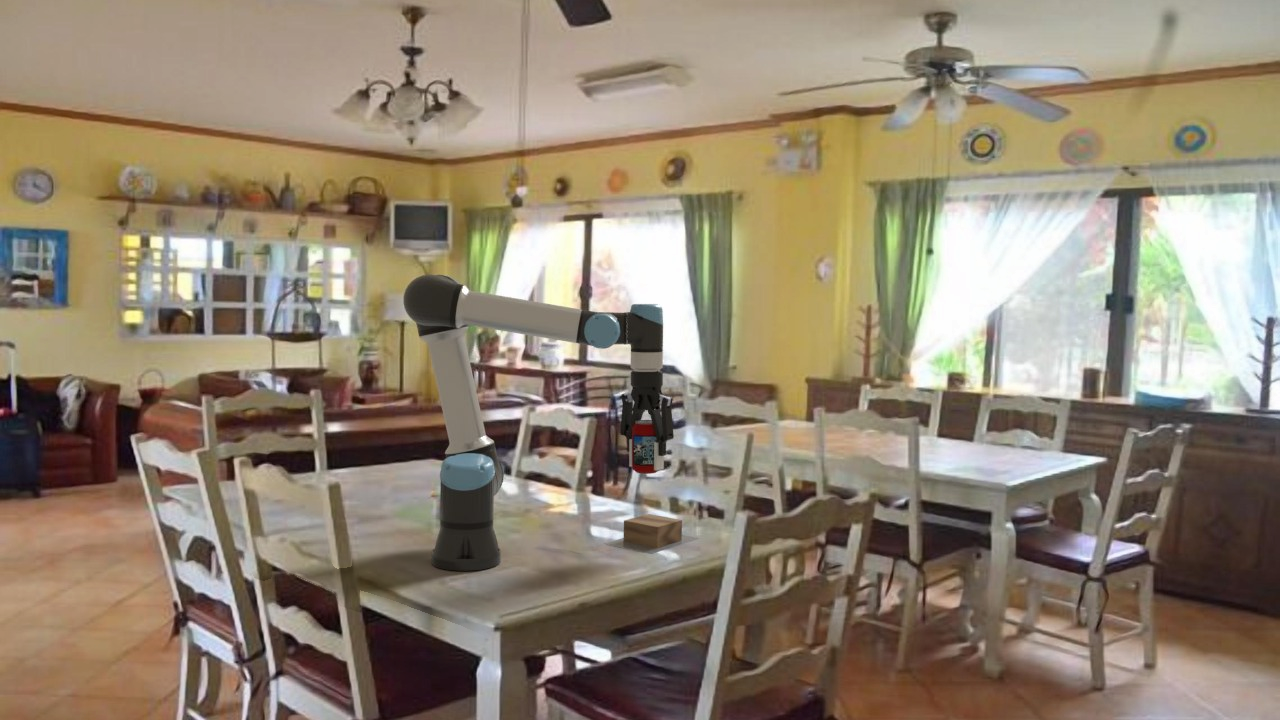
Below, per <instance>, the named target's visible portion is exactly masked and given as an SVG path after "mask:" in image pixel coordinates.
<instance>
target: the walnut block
mask: <svg viewBox="0 0 1280 720" xmlns="http://www.w3.org/2000/svg"><path fill="white" fill-rule="evenodd" d="M682 530H683V520H682V519H679V518H671V517H667V516H663V515H662V516H660V515H656V514H650V513H648V514H647V513H646V514H644V515H639V516H636V517H632V518H629V519H625V520H623V538H624V541H625V542H630V543H634V544H639V545H644V546H649V547H654V548H660V547H663V546H666V545H669V544H672V543H675V542H679V541H682V535H683V533H682V532H683V531H682Z"/></svg>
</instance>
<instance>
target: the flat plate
mask: <svg viewBox="0 0 1280 720" xmlns="http://www.w3.org/2000/svg"><path fill="white" fill-rule="evenodd" d="M699 539H701V538H700V537H697V536H696V537H695V536H690V535H685V534H682V541H679V542H675V543H672V544H669V545H666V546H663V547H660V548H654V547H649V546H644V545H639V544H634V543H630V542H625V541H624V537H621V538H619V539H615V540H612V541H609V542H605V543H604V544H603V545H606V546H613V547H617V548H622V549H627V550H631V551H636V552H639V553H640V552H641V553H645V554H650V555H653V554H655V553H660V552H662V551H665V550H669V549H671V548H674V547H678V546H681V545H684V544H687V543H689V542H693V541H697V540H699Z"/></svg>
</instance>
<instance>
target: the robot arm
mask: <svg viewBox="0 0 1280 720" xmlns="http://www.w3.org/2000/svg"><path fill="white" fill-rule="evenodd" d="M402 298H403V301H402V303H403V306H404V310H405V312H406V314H407V315H408V317H409V318H410V319H411V320H412V321H413V322H415V323H416V324H415V325H416V329H417V333H418V337H419V339H420V340H422V341H423V342H425V343H426V345H427V347H428V352H429V356H430V360H431V366H432V370H433V374H434V377H435V383H436V388H437V391H438V392H437V393H438V397H439V400H440V405H441V409H442V414H443V420H444V423H445V429H446V433H447V437H448V443H449V444H448V447H447V448H446V450H445V452H444V454H445V459H444V460H443V461H442V462H441V465H440V471H439V479H440V495H439V496H440V499H439V500H440V501H439V502H440V506H439V507H440V509H439V510H440V514H439V530H438V531H439V532H438V534H437V538H436V541H435V545H434V548H433V549H432V552H431V564H432V566H434V567H435V568H438V569H442V570H447V571H454V572H455V571H457V572H458V571H459V572H463V571H464V572H467V571H468V572H470V571H479V570H480V571H481V570H486V569H491V568H494V567H496V566H498V565H500V564H501V557H502V556H501V554H502V552H501V549H500V547H499V544H498V540H497V536H496V533H495V528H494V503H495V502H494V500H495V499H494V498H495V496H497V494H498V492H500V490H501V488H502V486H503V483H504V476H505V475H504V474H505V472H504V471H505V470H504V466H503V464H502V461H501V459H500V458H499V457H498V454H497V448H496V443H495V440H493V439H491V437H489V436H488V435H486V429H485V425H484V419H483V416H482V411H481V407H480V401H479V399H478V393H477V388H476V384H475V380H474V376H473V370H472V365H471V362H470V357H469V356H470V355H469V351H468V348H467V343H466V339H465V335H466V334H467V331H468V330H469V328H470V326H472V327H477V328H478V327H479V328H484V329H489V330H495V331H501V332H508V333H514V334H519V335H526V336H531V337H532V336H533V337H539V338H543V339H550V340H556V341H562V342H568V343H574V344H579V345H584V346H585V345H586V346H589V347H590V346H591V347H594V348H596V349H604V350H605V349H609V348H611V347H612V346H614V345H630V369H631V370H632V371H630V386H631V387H632V388H631V391H630V393H629V392H628V393H623V394H621V396H620V398H621V403H622V407H621V419H620V431H619V433H620V436H624V437H626V439H627V440H626V441H627V442H626V443H627V445H626V449H627V452H628V456H629V458H628V459H629V460H628V461H629V464H628V466H629V468H630V467H631V468H632V428H633V426H634V424H635V421H637V420H642V418H643V414H644V412H646V411H647V413H648V415H649V417H650V418H651V419H650V420H652V424H653V427H654V431H655V435H656V438H657V440H656V441H655V442H654V470H656V471H657V470H659V471H661V470H664V469H665V456H666V455H667V442H668V441H670V440H673V439H674V436H675V435H674V426H673V425H674V424H673V423H674V422H673V411H672V404H673V402H674V399H673V397H672V396H666V395H664V394H663V392H662V387H663V384H664V382H663V381H664V378H663V377H664V372H663V371H662V370H661V369H663V367H664V362H663V359H664V358H663V357H664V355H663V354H664V352H663V351H664V311H663V307H662V306H661V305H660V304H658V303H634V304H631V306H630V310H629V311H627V312H611V311H608V312H606V311H605V312H604V311H600V312H599V311H593V310H586V309H585V310H584V309H580V308H573V307H568V306H562V305H556V304H550V303H547V302H546V303H545V302H544V303H543V302H539V301H535V300H527V299H523V298H522V299H521V298H515V297H511V296H504V295H497V294H494V293H493V294H491V293H486V292H481V291H474V290H470V289H469V288H468V286H467V285H466V284H460V283H458V282H457V281H456V280H455V279H454V278H452V277H450V276H447V275H444V274H423V275H420V276H418V277H416V278H414V279H413V280H412V281H411V282H409V284H408V285H407V287H406V288H405V290H404V294H403V297H402ZM657 472H658V471H657Z"/></svg>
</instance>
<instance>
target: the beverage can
mask: <svg viewBox="0 0 1280 720" xmlns="http://www.w3.org/2000/svg"><path fill="white" fill-rule="evenodd" d="M656 440H657V438H656V435H655V431H654V427H653V424H652V420H651V419H641V420H637V421H635V424H634V426H633V428H632V467H631V469H632V470H633V471H634V472H635V473H636V474H642V475H643V474H644V475H652V474H656V473H657V472H658V471H660V470H657V471H656V470H654V442H655V441H656Z"/></svg>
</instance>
